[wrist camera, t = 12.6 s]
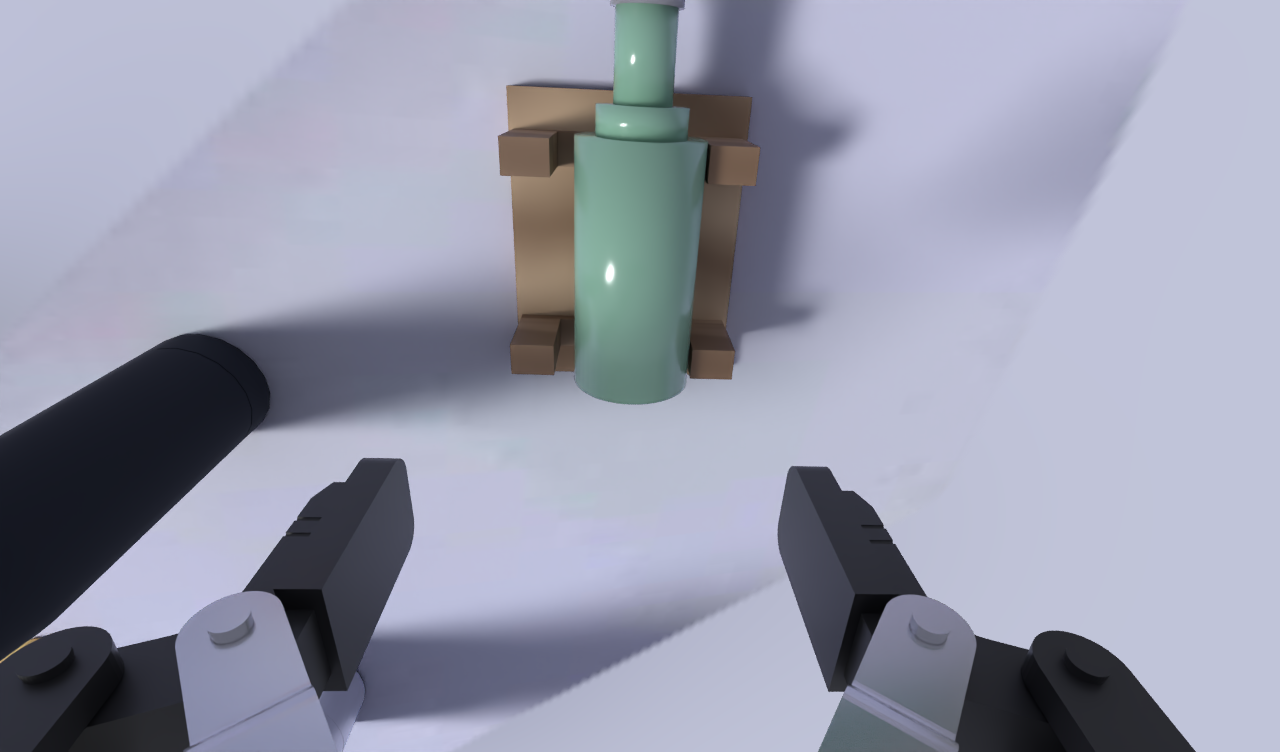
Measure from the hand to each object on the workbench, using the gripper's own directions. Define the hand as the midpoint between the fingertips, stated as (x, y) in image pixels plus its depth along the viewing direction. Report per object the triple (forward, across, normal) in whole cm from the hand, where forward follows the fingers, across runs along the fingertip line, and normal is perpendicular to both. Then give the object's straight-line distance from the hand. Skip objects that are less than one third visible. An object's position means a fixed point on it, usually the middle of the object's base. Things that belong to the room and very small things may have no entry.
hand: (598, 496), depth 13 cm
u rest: (+20, -1, -1) cm, 20 cm away
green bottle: (+19, -1, -3) cm, 19 cm away
